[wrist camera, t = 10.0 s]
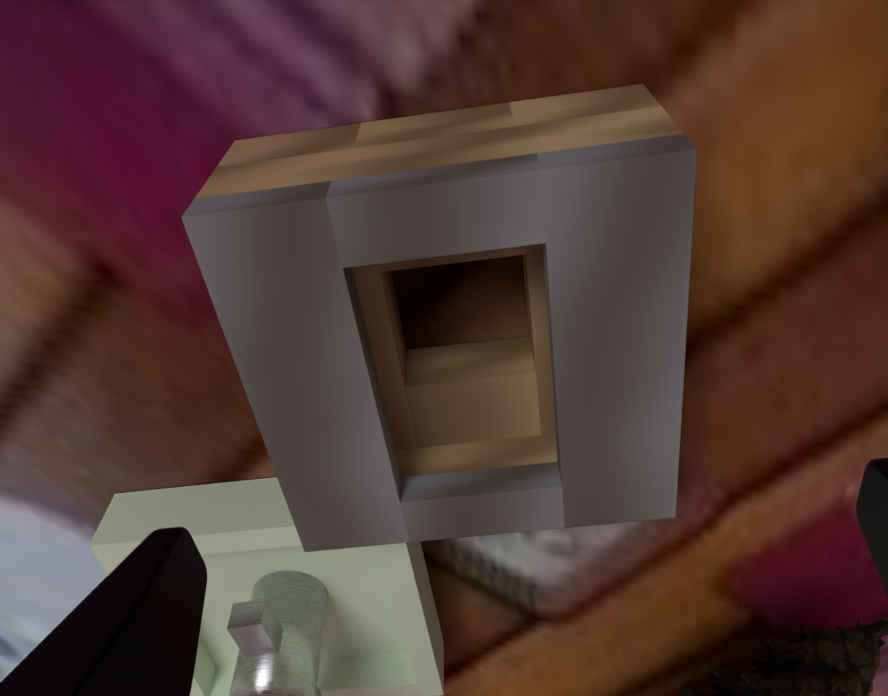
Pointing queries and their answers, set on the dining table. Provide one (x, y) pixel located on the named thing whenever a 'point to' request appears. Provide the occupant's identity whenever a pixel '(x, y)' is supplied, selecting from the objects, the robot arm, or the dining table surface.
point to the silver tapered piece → (279, 636)
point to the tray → (279, 549)
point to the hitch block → (469, 364)
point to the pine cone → (807, 665)
